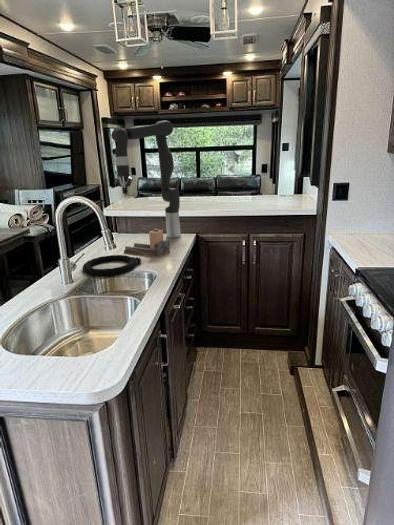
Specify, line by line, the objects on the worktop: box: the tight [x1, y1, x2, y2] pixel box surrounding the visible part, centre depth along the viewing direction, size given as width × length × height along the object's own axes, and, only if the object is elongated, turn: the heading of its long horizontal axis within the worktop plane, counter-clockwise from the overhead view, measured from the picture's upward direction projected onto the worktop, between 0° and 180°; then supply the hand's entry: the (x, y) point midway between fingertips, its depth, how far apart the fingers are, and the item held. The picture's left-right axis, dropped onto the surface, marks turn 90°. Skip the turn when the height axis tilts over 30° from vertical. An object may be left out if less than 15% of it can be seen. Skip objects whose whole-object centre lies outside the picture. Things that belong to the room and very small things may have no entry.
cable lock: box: [82, 254, 142, 277], centre depth 183 cm, size 28×4×30 cm
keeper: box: [148, 228, 165, 250], centre depth 202 cm, size 6×5×13 cm
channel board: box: [123, 239, 171, 258], centre depth 207 cm, size 12×25×8 cm, turn 60°
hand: (125, 193), depth 214 cm, fingers closed
